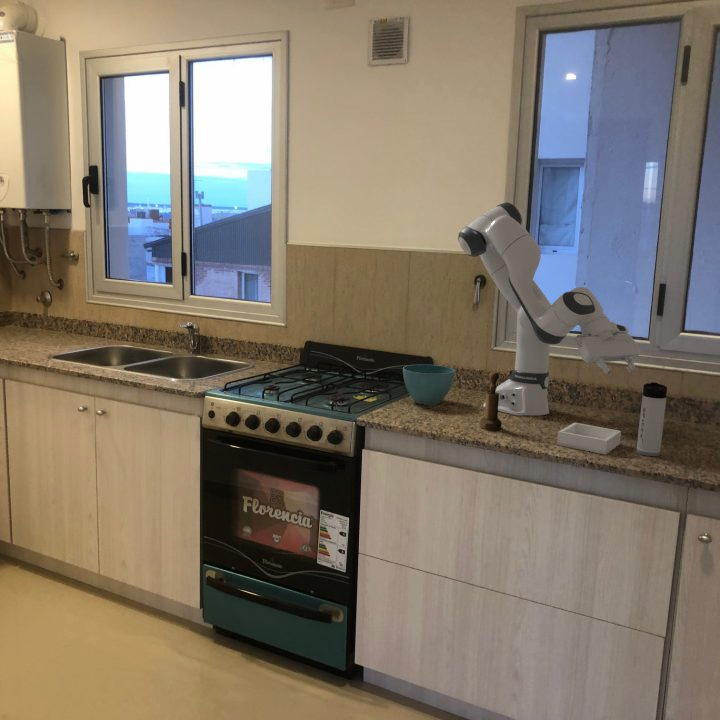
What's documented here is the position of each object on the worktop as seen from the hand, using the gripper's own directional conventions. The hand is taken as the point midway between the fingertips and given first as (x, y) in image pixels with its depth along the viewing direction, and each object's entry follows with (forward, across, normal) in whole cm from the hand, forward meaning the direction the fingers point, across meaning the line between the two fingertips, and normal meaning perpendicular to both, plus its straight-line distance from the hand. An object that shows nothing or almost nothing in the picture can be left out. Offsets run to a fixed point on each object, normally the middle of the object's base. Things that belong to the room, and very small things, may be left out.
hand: (620, 371), depth 217 cm
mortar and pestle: (-3, -27, +33) cm, 43 cm away
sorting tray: (+15, -10, +15) cm, 23 cm away
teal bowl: (-28, -28, +58) cm, 70 cm away
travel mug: (+24, +1, +7) cm, 25 cm away
